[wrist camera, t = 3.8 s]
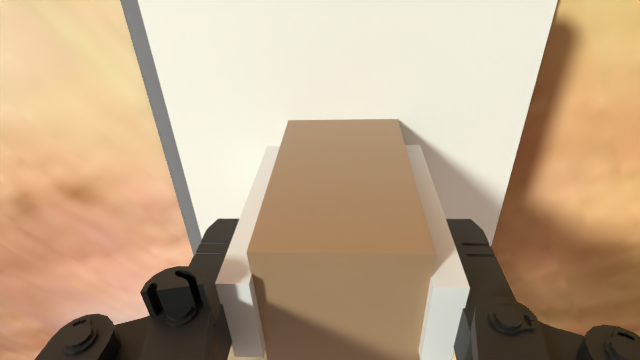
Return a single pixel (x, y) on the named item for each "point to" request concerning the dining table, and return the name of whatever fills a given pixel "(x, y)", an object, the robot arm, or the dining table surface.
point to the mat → (161, 117)
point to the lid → (346, 145)
